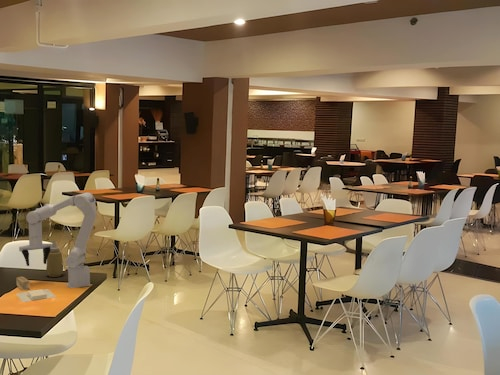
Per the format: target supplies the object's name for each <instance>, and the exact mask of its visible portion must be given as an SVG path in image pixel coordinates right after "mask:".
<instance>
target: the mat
mask: <svg viewBox="0 0 500 375" xmlns="http://www.w3.org/2000/svg"><path fill="white" fill-rule="evenodd" d="M42 290H43V291H44V292H45V293H46V294H47V298H44V299H43V300H45V299H53V298H57V296H56V295H55V294H54V293H53V292H52V291H51V290H50V289H48V288H45V289H42ZM15 295H16V297H18V299H19V300H20V301H21V303H28V302H32V301H33V302H34V301H35V300H32V299H31V298H30V297H29V296H28V295H27V291H23V292H18V293H15ZM39 300H40V301H41V300H42V299H37V300H36V301H39Z"/></svg>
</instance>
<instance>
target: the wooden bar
mask: <svg viewBox="0 0 500 375" xmlns="http://www.w3.org/2000/svg"><path fill="white" fill-rule="evenodd" d="M15 282H16V286H17V288H19V289H20V290H21V291H23V292H26V291H31V285H30V283H31V282H30V280H28V279H27V278H26V277H25V276H17V277H16V280H15Z"/></svg>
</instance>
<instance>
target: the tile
mask: <svg viewBox="0 0 500 375" xmlns="http://www.w3.org/2000/svg"><path fill="white" fill-rule="evenodd" d="M43 290H44V289H42V288H41V289H34V290H33V289H32V290H26V292H27V295H28V296H29V297H30V298H31V299H32V300H34V301H38V300H37V299H41V300H45V299H44V298H47V294H46V293H45V292H44V291H43ZM47 299H48V298H47Z"/></svg>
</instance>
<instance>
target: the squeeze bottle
mask: <svg viewBox="0 0 500 375" xmlns="http://www.w3.org/2000/svg"><path fill="white" fill-rule="evenodd" d="M51 244H52V248H50V249H51V251H50V253H49V255H48V258H47V261H46V272H47V274H48V277H50V278H58V277H61V276H62V275H63V272H64V262H63V256H62V252H61V251H60V247H59V246H58V244H57V241H56V240H55V239H53V240H52V243H51Z"/></svg>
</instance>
